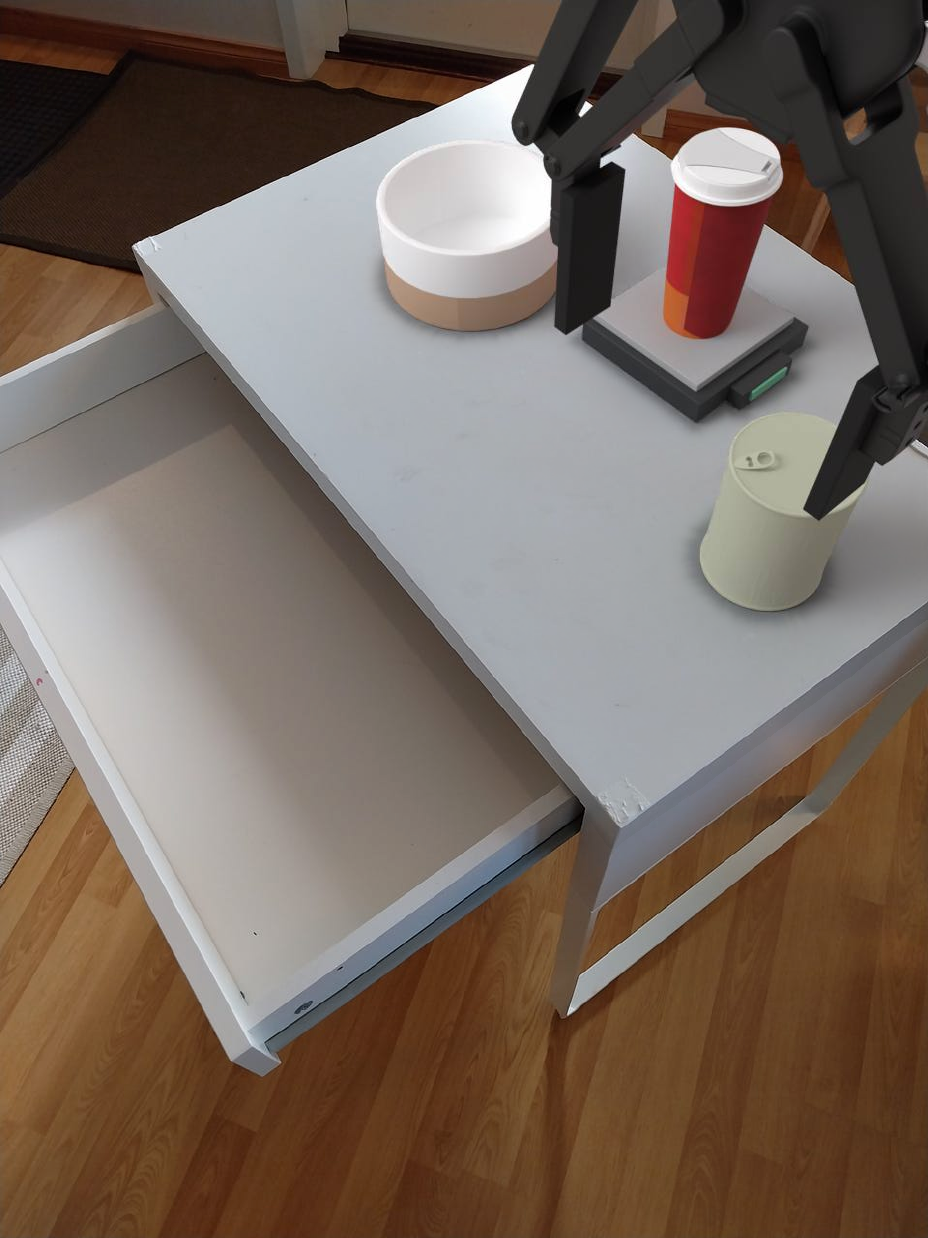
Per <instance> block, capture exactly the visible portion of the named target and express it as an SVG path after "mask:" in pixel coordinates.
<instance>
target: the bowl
mask: <svg viewBox="0 0 928 1238" xmlns="http://www.w3.org/2000/svg"><path fill="white" fill-rule="evenodd" d="M543 157H544V156H542V155H540V154H538V153H537V152H535V151H534V150H532V149H529V148H528V147H527V148H526V147H525V146H523V145H519V144H515V143H512V142H507V141H504V140H494V139H485V138H483V139H481V138H478V139H477V138H475V139H474V138H473V139H472V138H471V139H460V140H458V139H457V140H449V141H446V142H442V143H438V144H433V145H431V146H428V147H425V148H423V149H420V150H418V151H416V152H414V153H412V154H410V155H408V156H406V157H404V158H403V159H402V160H400V161H399V162H398V163H396V165H394V166H393V167H392V168H391V169H390V170H389V171H388V173H386V174H385V176H384V177H383V178H382V180H381V183H380V184H379V187H378V188H377V193H376V199H375V208H376V214H377V222H378V228H379V237H380V244H381V251H382V255H383V262H384V270H385V276H386V277H385V278H386V284H387V288H388V290H389V292H390V295H391V296H392V298H393V299H394V300H395V302H396V303H397V304H398V306H399V307H400V308H401V309H402V310H404V311H405V312H406V313H407V314H409V315H410V316H412V317H413V318H415V319H417V320H419V321H421V322H423V323H425V324H427V325H431V326H434V327H437V328H440V329H445V330H453V331H459V332H479V331H487V330H495V329H499V328H503V327H506V326H510V325H513V324H516V323H518V322H520V321H522V320H525V319H528V318H529V317H531V316H532V315H533V314H535V313H537V312H538V311H539V310H541V309H542V308H543V307H544V306H545V305H546V304H547V303H548V302H549V301H550V300H551V299H552V297H553V296H554V294H555V293H556V277H557V256H558V247H557V246H556V245H554V244H553V243H552V239H551V234H550V218H551V217H550V210H551V208H550V207H551V181H552V179H551V178H550V177H549V176H548V174H547V173H546V170H545V168H544V163H543Z"/></svg>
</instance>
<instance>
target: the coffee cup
mask: <svg viewBox="0 0 928 1238" xmlns="http://www.w3.org/2000/svg"><path fill="white" fill-rule="evenodd" d="M670 171H671V176H672V179H673V181H674V188H673V189H674V190H673V199H672V207H671V220H670V229H669V239H668V250H667V259H666V265H667V269H666V280H665V292H664V305H663V317H664V321H665V323H666V324H667V326H668V327H669V328H670V329H671V330H672V331H674V332H675V333H677V334H679V335H681V336H684V337H687V338H691V339H708V338H712V337H715V336H718V335H720V334H721V333H723V332H724V331H725V330H726V329H727V328H728V327H729V325H730V323H731V321H732V318H733V315H734V313H735V310H736V307H737V304H738V301H739V298H740V295H741V292H742V289H743V286H744V285H745V283H746V280H747V276H748V274H749V271H750V268H751V264H752V261H753V259H754V255H755V252H756V250H757V246H758V243H759V241H760V238H761V235H762V232H763V230H764V225H765V224H766V221H767V217H768V214H769V211H770V208H771V204H772V201H773V198H774V194H775V193H776V192H777V191H778V190H779V189H780V187H781V185H782V182H783V179H784V172H783V168H782V165H781V155H780V152H779V150H778V148H777V146H776V145H775V144H774V143H773V141H772V140H771V139H769V138H767V137H765V136H764V135H763V134H761V133H757V132H756V131H752V130H748V129H744V128H739V127H717V128H713V129H709V130H706V131H702V132H700V133H698V134H695V135H694V136H692V137H691V138H690V139H689V140H688V141H687V142H685V143H684V144H683V145H682V146H681V148H680V149H679V150H678V153H676V155H675V156H674V157H673V159H672V161H671V163H670Z"/></svg>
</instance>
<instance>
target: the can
mask: <svg viewBox="0 0 928 1238" xmlns="http://www.w3.org/2000/svg"><path fill="white" fill-rule="evenodd" d="M838 425H839V424H837V423H835V422H833V421H830V420H829V419H826V418H824V417H821V416H818V415H814V414H811V413H805V412H797V411H786V412H785V411H784V412H783V411H782V412H775V413H770V414H766V415H763V416H759V417H758V418H755V419H754V420H752V421H750V422H748V423H747V424H746V425H744V426H743V427H741V429H740V430H739V431H738V432H737V434H735V436H734V438H733V439H732V442H731V444H730V447H729V451H728V458H727V462H726V465H725V470H724V472H723V477H722V480H721V484H720V487H719V490H718V494H717V497H716V501H715V504H714V508H713V511H712V515H711V517H710V521H709V524H708V527H707V531H706V533H705V535H704V536H703V539H702V541H701V544H700V547H699V563H700V567H701V571H702V572H703V575H704V577H705V579H706V580H707V582H708V584H709V585H710V586H711V587H712V588H713V589H714V590H715V592H717V593H718V594H719V595H721V596H722V597H723V598H724V599H726V600H727V601H729V602H731V603H733V604H735V605H737V606H740V607H742V608H744V609H745V608H746V609H749V610H753V611H759V612H778V611H779V612H780V611H784V610H788V609H791V608H794V607H796V606H798V605H800V604H802V603H803V602H804V601H806V600H807V599H808V598H810V597H811V596H812V595H813V594H814V592H815V591H816V590H817V589H818V586H819V585H820V583H821V580H822V577H823V573H824V570H825V568H826V566H827V564H828V561H829V559H830V557H831V555H832V553H833V551H834V549H835V547H836V545H837V543H838V542H839V539H840V537H841V535H842V533H843V531H844V529H845V527H846V526H847V525H846V524H847V523H848V521H849V519H850V517H851V515H852V513H853V511H854V510H855V508H856V506H857V504H858V501H859V500H860V498H861V497H862V496H863V494H864V492H865V491H866V489H867V487H868V484H869V479H870V474H869V475H868V478H867V480H866V482H865V483H864V484H863V485H862V486H861V487H859V488H858V489H857V490H856V491H855V492H853V493H852V494H851V495H850V496H849V497H847V498H846V499H845V500H844V501H843V502H841V503H840V504H839V505H838V506H837V507H835V508H834V509H833V510H832V511H830V512H829V513H828V514H827V515H826V516H824V517H823V518H822V519H821V520H820V521H818V520H817V519H815V518H814V517H813V516H811V515H810V514H808V513H807V512H806V511H804V510H803V507H804V505H805V503H806V500H807V498H808V496H809V493H810V491H811V489H812V486H813V484H814V481H815V479H816V477H817V474H818V472H819V470H820V467H821V465H822V463H823V460H824V458H825V455H826V453H827V451H828V448H829V446H830V444H831V441H832V439H833V437H834V434H835V432H836V429H837V427H838Z"/></svg>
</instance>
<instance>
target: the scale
mask: <svg viewBox="0 0 928 1238" xmlns="http://www.w3.org/2000/svg"><path fill="white" fill-rule="evenodd" d="M666 269H667V264H665V265H664V266H662V267H661V268H660V269H657V270H656V271H654V272H653V273H651V274H650V275H648V276H647V277H645V278H643V279H641V280H640V281H639V282H638V283H636V284H635V285H632V286H631V287H630V288H628V289H627V290H624V291H623V292H622V293H620V294H619V295H617V296H616V297H614V298H612V299H611V307H609V308H608V309H606V310H604V311H603V312H601V313H600V314H598V315H597V316H595V317H594V318H592V319H591V320H589V321H587V322H586V323H584V324H583V325H582V330H581V340H582V341H583V342H584V343H585V344H587V345H588V346H590V347H591V348H592V349H593V350H595V351H596V352H598V353H599V354H600V355H602V356H603V357H605V358H606V359H607V360H609V361H610V362H611V363H613V364H614V365H615V366H617V367H619V368H620V369H621V370H622V371H624V372H625V373H627V374H628V375H629V376H631V378H633V379H635V380H636V381H638V382H639V383H641V384H642V385H643V386H644V387H646V388H647V389H649V390H650V391H651V392H652V393H654V394H655V395H657V396H658V397H659V398H661V399H662V400H663V401H665V402H666V403H668V404H669V405H671V406H672V407H673V408H675V409H676V410H677V411H679V412H680V413H682V414H683V415H684V416H686V417H687V418H688V419H689V420H691V421H692V422H694V423H695V424H696V423H698V422H699V421H701V420H702V419H704V418H705V417H706V416H708V415H709V414H711V413H712V412H713V411H715V410H716V409H717V408H719V407H720V406H721V405H722V404H724V403H726V402H727V403H728V404H730V405H731V406H732V407H734V408H735V409H737V410H738V411H741V410H742V409H743V408H745V407H746V406H747V405H749V404H750V403H751V402H753V401H754V400H756V399H757V398H758V397H760V396H761V395H762V394H763V393H766V392H767V391H768V390H769V389H771V388H772V387H773V386H774V385H776V384H777V383H778V382H780V381H781V380H783V379H784V378H785V377H787V376H788V375H789V373H790V369H791V367H792V364H793V361H794V358H792V357H791V356H790V355H791V354H793V353H794V352H795V351H797V350H798V349H800V348H801V347H802V346H803V345H804V342H805V340H806V337H807V334H808V330H809V328H810V326H809V325H808V324H806V323H805V322H803V321H802V320H800V319H799V318H797V317H796V316H794V315H793V314H792V313H790V312H788V311H787V310H785V309H784V308H783V307H781V306H780V305H777V304H776V303H774V302H773V301H771V300H770V299H768V298H767V297H765V296H763V295H761V294H760V293H759V292H757V291H755V290H753V289H752V288H751V287H749V286H747V285H745V284H744V286H743V289H742V292H741V295H740V298H739V301H738V304H737V307H736V310H735V313H734V315H733V318H732V321H731V323H730V325H729V327H728V328H727V329H726V330H725V331H724V332H723V333H721V334H720V335H718V336H715V337H712V338H708V339H691V338H687V337H684V336H681V335H679V334H677V333H675V332H674V331H672V330H671V329H670V328H669V327H668V326H667V324H666V323H665V321H664V317H663V305H664V292H665V280H666Z"/></svg>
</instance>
